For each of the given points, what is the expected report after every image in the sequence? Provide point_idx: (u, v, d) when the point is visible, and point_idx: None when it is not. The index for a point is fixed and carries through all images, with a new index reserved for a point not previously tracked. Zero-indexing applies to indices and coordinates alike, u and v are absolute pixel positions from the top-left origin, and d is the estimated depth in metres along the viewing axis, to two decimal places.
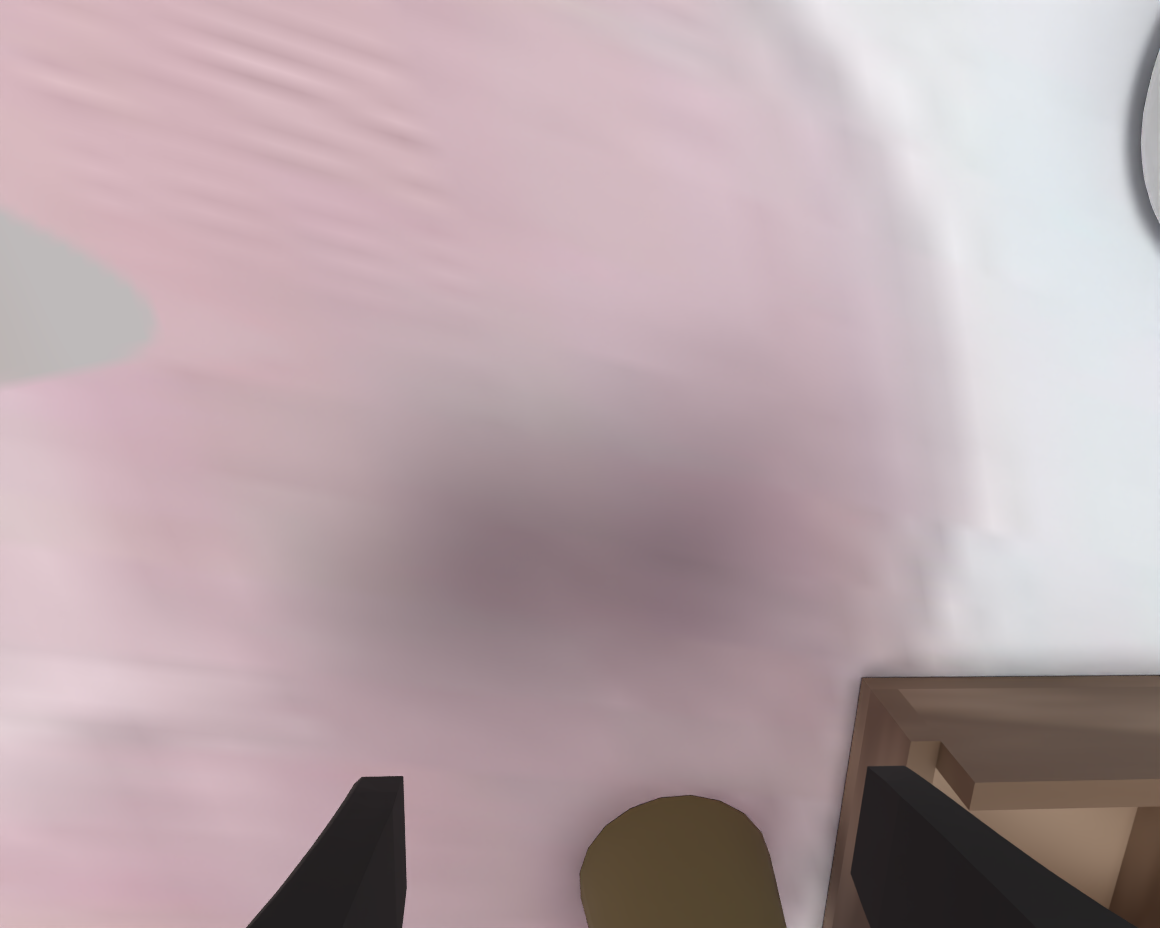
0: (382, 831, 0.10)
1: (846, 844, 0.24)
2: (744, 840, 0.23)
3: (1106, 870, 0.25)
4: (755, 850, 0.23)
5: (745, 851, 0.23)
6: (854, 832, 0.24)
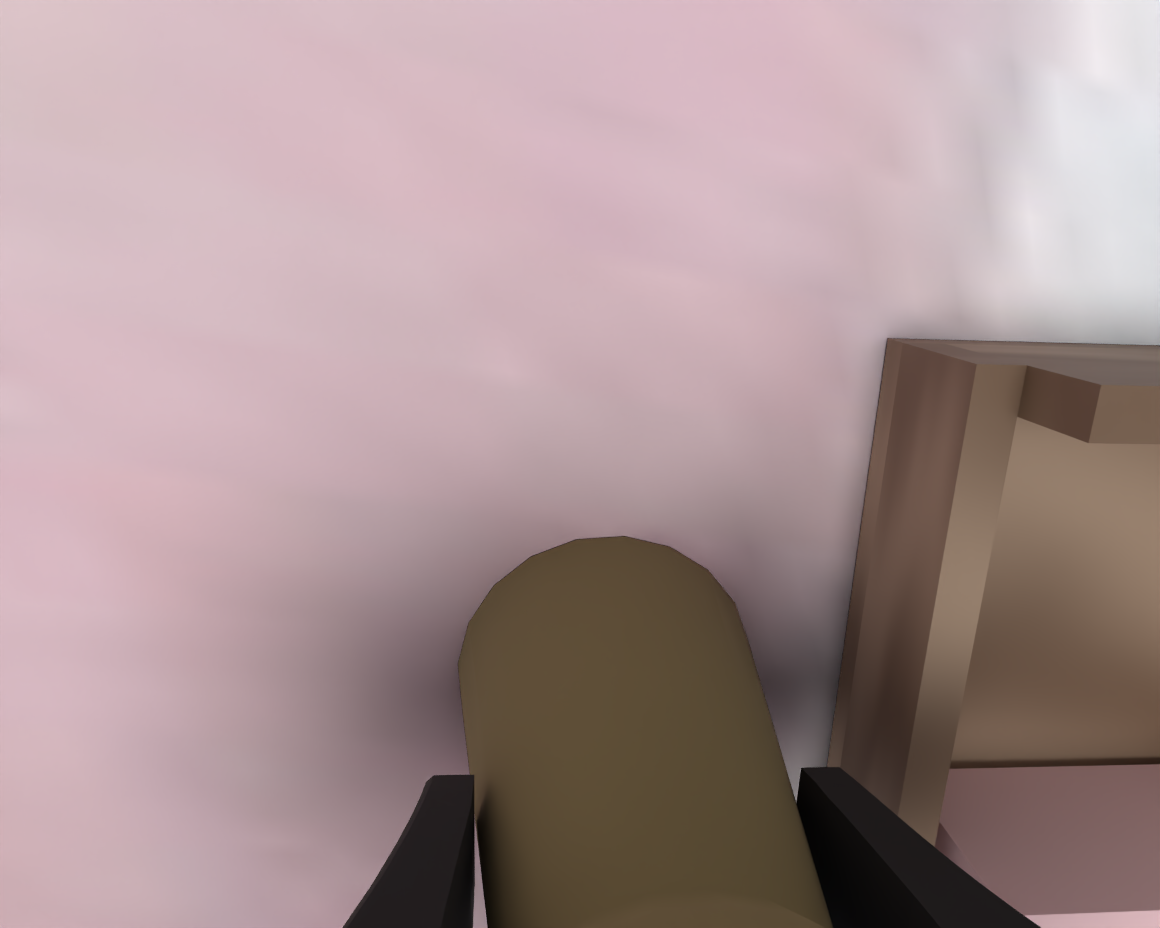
0: (464, 829, 0.10)
1: (864, 612, 0.16)
2: (705, 593, 0.15)
3: None
4: (723, 610, 0.15)
5: (705, 603, 0.14)
6: (877, 585, 0.15)
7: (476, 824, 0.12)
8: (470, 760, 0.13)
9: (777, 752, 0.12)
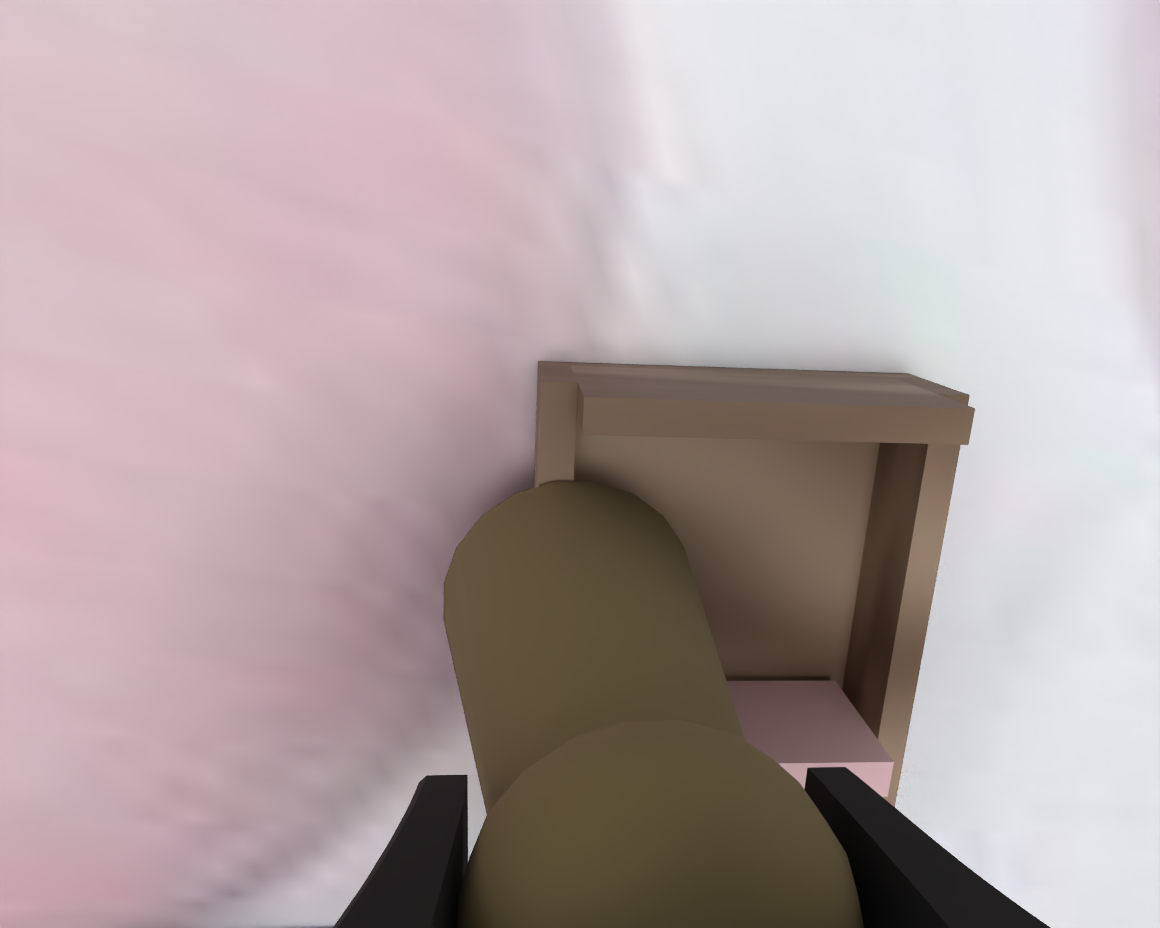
0: (456, 829, 0.10)
1: None
2: (662, 532, 0.18)
3: (839, 607, 0.23)
4: (676, 546, 0.18)
5: (662, 539, 0.17)
6: None
7: (468, 697, 0.15)
8: (461, 652, 0.16)
9: (716, 651, 0.15)
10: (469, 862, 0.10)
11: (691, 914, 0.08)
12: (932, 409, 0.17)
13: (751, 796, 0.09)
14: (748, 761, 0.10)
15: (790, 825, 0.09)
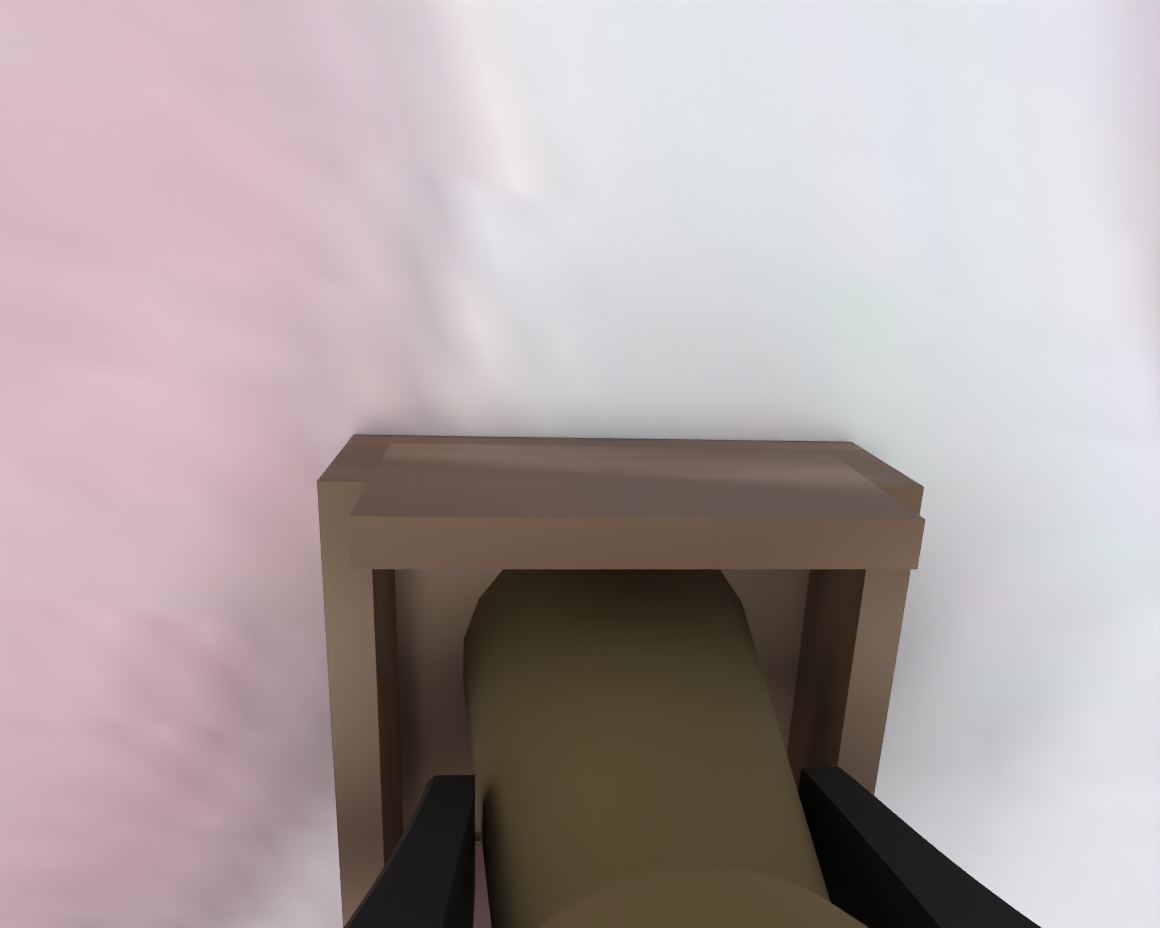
0: (465, 829, 0.10)
1: None
2: (716, 588, 0.15)
3: None
4: (733, 606, 0.15)
5: (717, 598, 0.15)
6: None
7: (480, 792, 0.12)
8: (476, 731, 0.13)
9: (783, 745, 0.12)
10: None
11: None
12: (863, 522, 0.12)
13: None
14: None
15: None
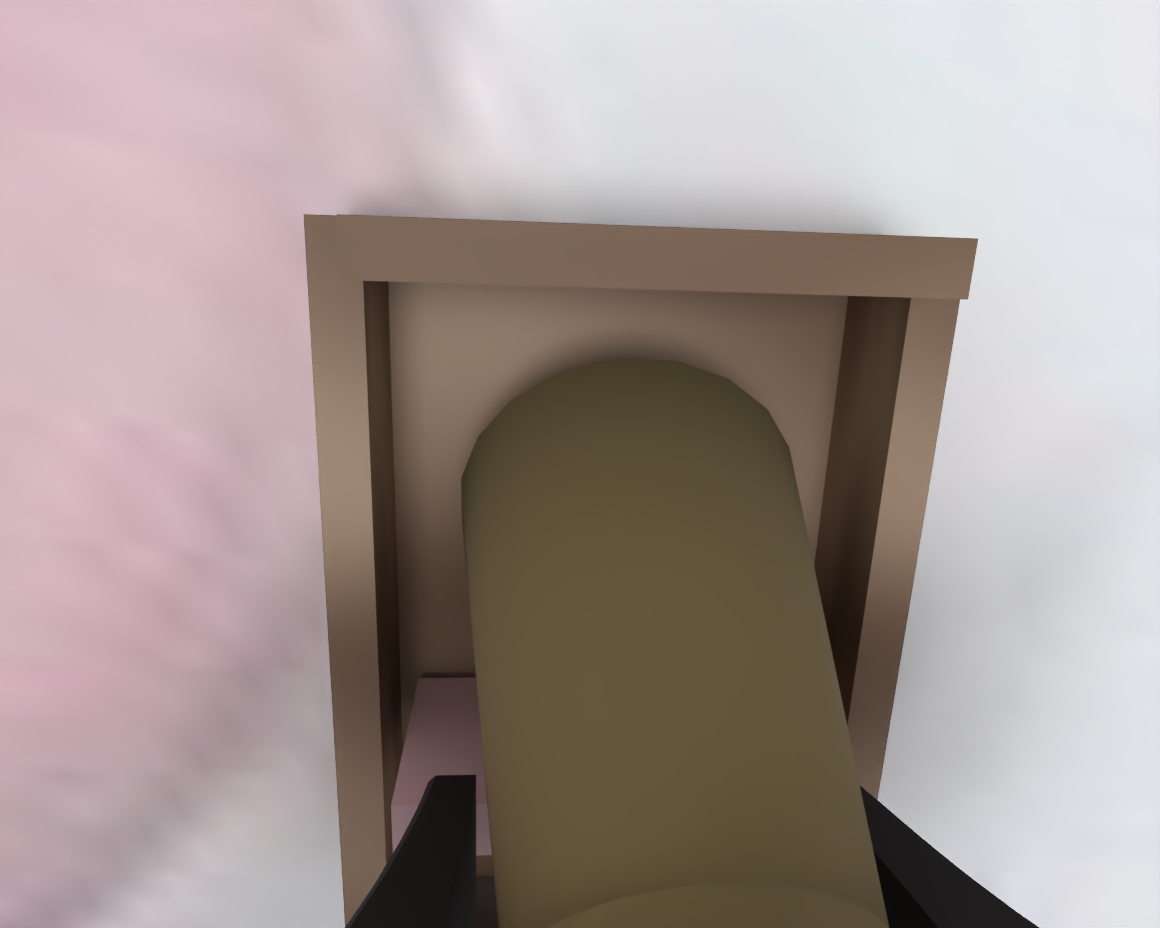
0: (466, 829, 0.10)
1: None
2: (765, 445, 0.12)
3: None
4: (782, 465, 0.13)
5: (766, 461, 0.12)
6: None
7: (480, 694, 0.11)
8: (474, 612, 0.11)
9: (832, 661, 0.10)
10: None
11: None
12: (909, 240, 0.11)
13: None
14: None
15: None
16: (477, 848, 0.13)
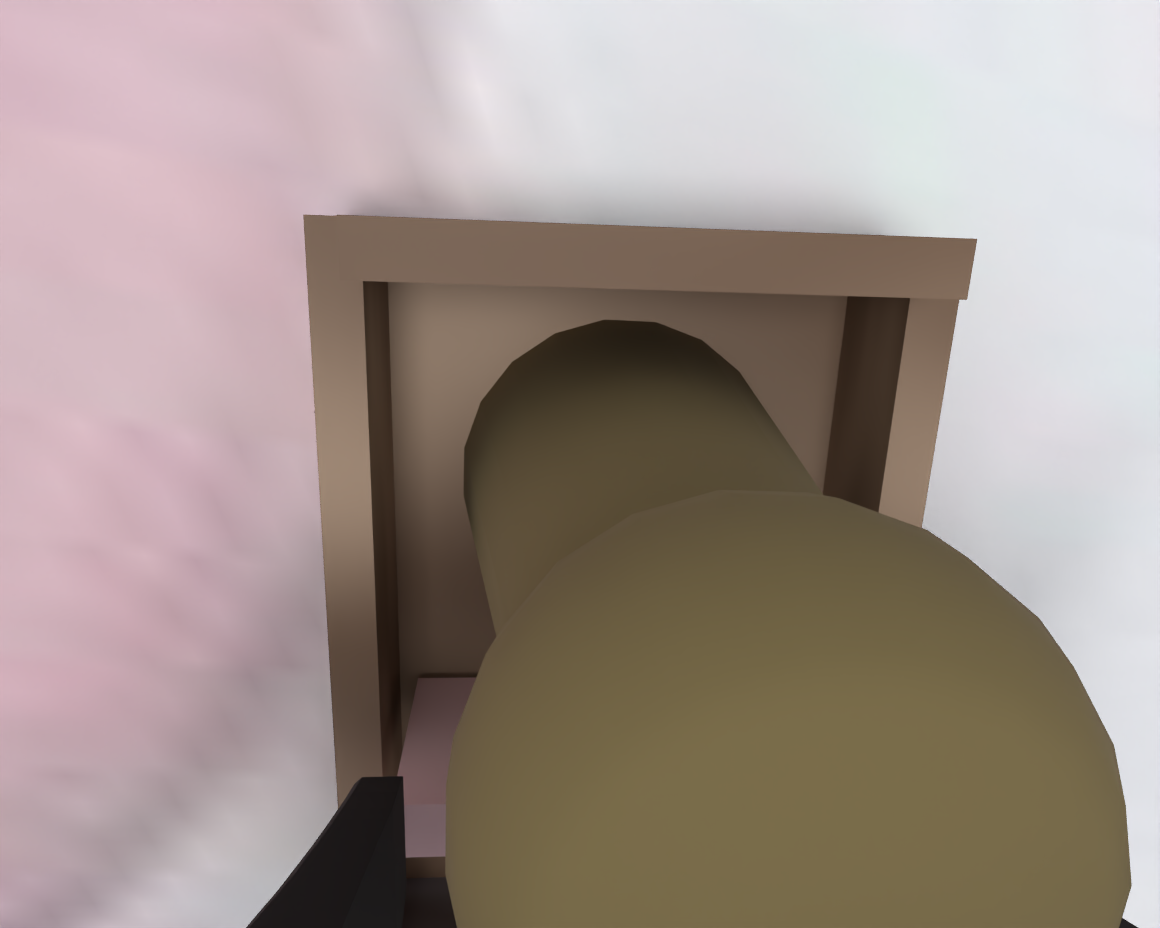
0: (382, 831, 0.10)
1: None
2: (739, 378, 0.14)
3: None
4: None
5: (740, 382, 0.14)
6: None
7: (486, 545, 0.11)
8: (480, 501, 0.12)
9: None
10: None
11: (856, 728, 0.05)
12: (908, 240, 0.11)
13: (940, 564, 0.06)
14: (921, 533, 0.06)
15: (1009, 610, 0.05)
16: None
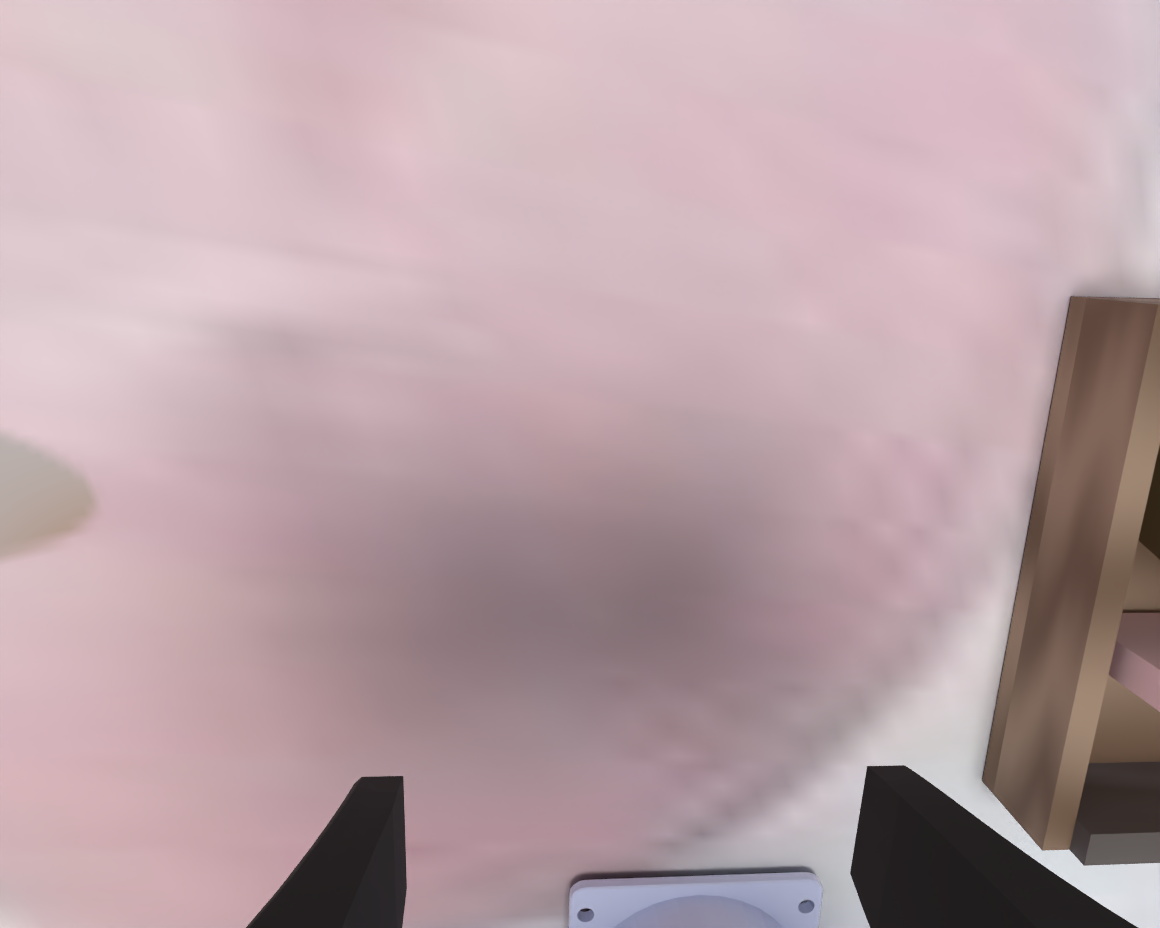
0: (382, 831, 0.10)
1: (1050, 494, 0.22)
2: None
3: None
4: None
5: None
6: (1064, 471, 0.21)
7: None
8: None
9: None
10: None
11: None
12: None
13: None
14: None
15: None
16: None
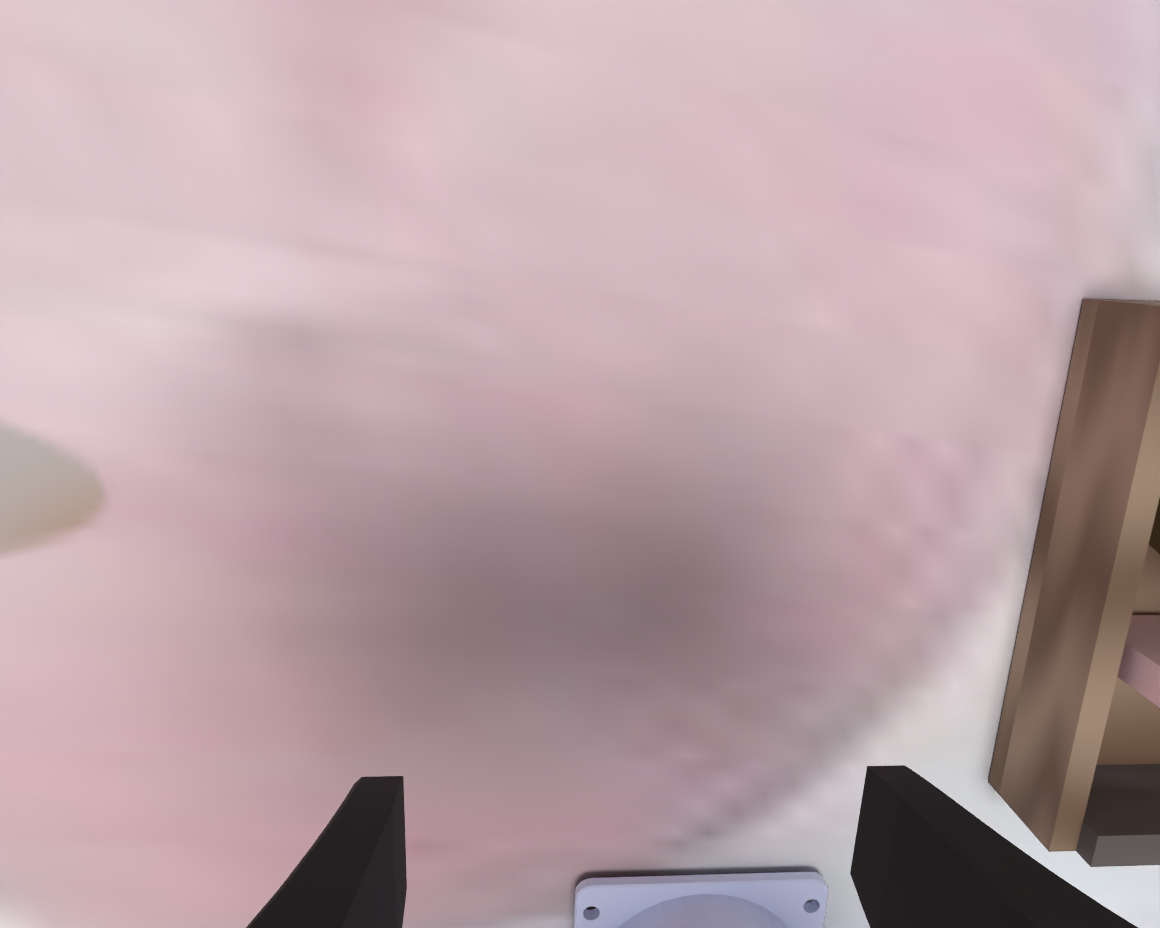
0: (382, 831, 0.10)
1: (1060, 496, 0.22)
2: None
3: None
4: None
5: None
6: (1074, 473, 0.21)
7: None
8: None
9: None
10: None
11: None
12: None
13: None
14: None
15: None
16: None
